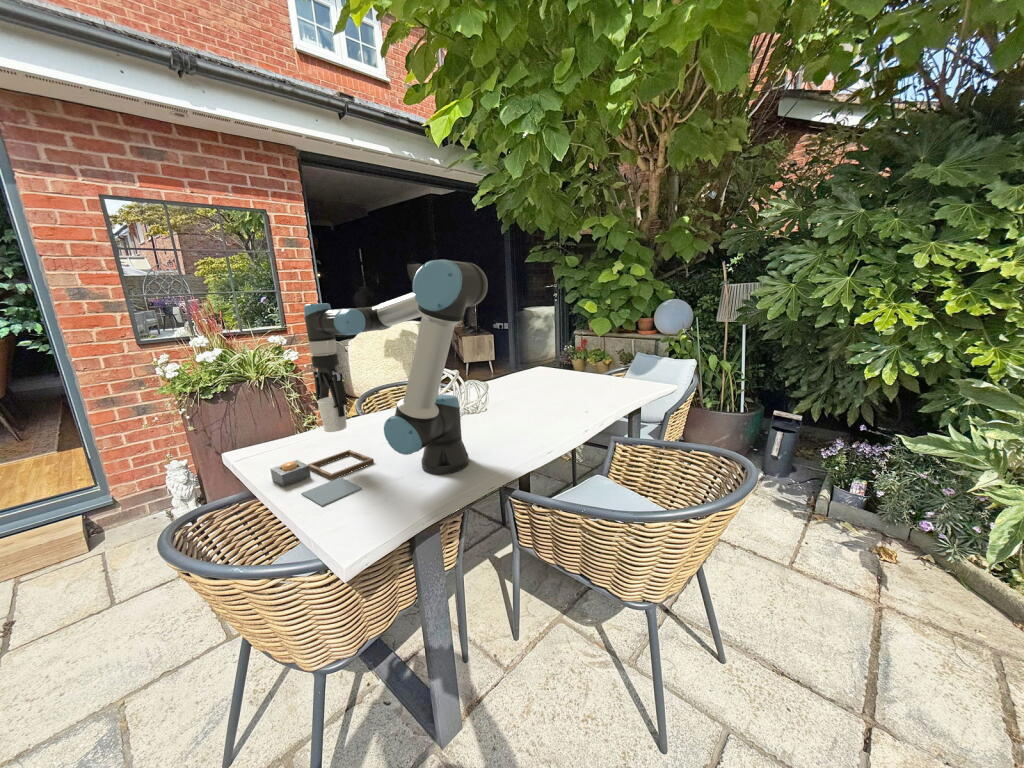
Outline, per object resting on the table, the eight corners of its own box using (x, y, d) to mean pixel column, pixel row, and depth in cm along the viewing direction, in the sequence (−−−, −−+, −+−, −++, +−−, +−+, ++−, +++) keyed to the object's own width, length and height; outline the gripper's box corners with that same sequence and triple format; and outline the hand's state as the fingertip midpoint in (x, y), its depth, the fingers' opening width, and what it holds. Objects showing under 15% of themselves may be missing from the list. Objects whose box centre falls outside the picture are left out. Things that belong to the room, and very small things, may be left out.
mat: (362, 488, 115) (362, 487, 115) (322, 506, 106) (321, 505, 106) (341, 478, 122) (340, 477, 122) (301, 494, 113) (301, 493, 113)
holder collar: (373, 463, 133) (373, 458, 132) (330, 480, 121) (330, 475, 121) (349, 453, 142) (349, 449, 141) (307, 468, 130) (306, 464, 130)
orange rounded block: (300, 475, 123) (298, 463, 122) (287, 480, 120) (285, 468, 119) (294, 472, 126) (292, 460, 125) (281, 477, 123) (279, 464, 122)
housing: (310, 477, 124) (308, 465, 123) (283, 487, 118) (281, 475, 117) (299, 471, 129) (297, 459, 128) (272, 480, 123) (270, 468, 122)
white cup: (332, 434, 123) (327, 403, 121) (317, 430, 127) (312, 400, 125) (353, 426, 130) (349, 397, 128) (339, 423, 134) (334, 395, 132)
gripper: (353, 353, 120) (363, 425, 125) (320, 350, 132) (330, 416, 137) (329, 357, 114) (340, 432, 119) (296, 354, 127) (308, 422, 132)
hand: (335, 423), depth 128 cm, fingers closed on white cup, 7 cm apart
